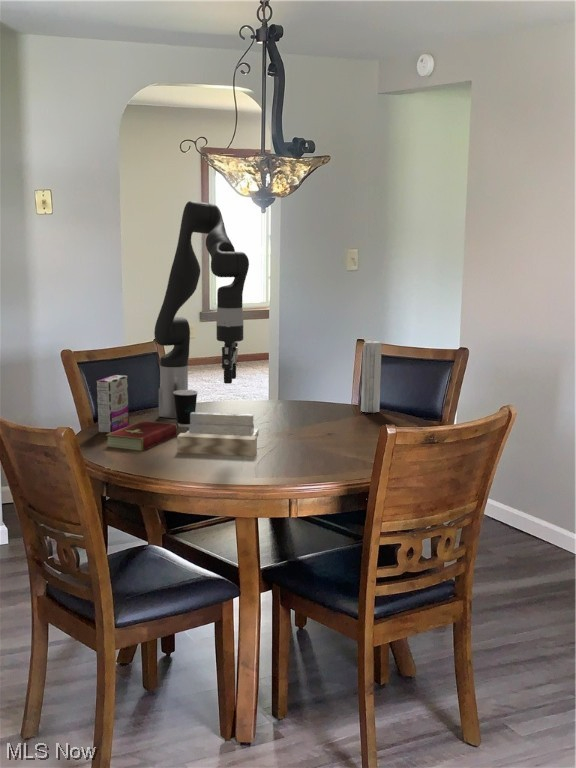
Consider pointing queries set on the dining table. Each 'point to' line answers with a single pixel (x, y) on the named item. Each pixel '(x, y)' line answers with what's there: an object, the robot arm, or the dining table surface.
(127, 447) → the hardcover book
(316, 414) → the dining table surface
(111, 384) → the candy bar box
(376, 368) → the air filter
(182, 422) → the dixie cup
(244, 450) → the beech batten
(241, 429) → the ridge
